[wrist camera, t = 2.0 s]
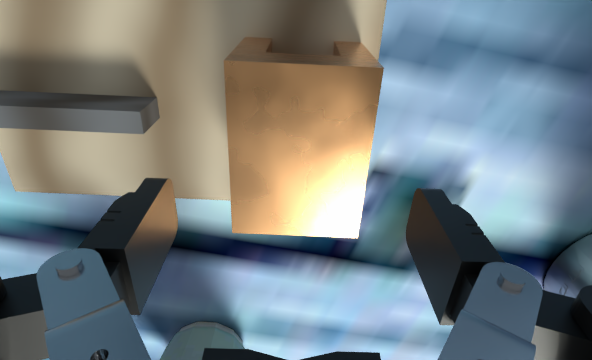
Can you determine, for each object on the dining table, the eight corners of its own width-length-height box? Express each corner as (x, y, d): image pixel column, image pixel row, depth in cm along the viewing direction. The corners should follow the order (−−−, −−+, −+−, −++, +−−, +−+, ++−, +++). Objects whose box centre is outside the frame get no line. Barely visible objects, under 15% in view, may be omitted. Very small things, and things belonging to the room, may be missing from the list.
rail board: (380, -2, 20) (398, 3, 16) (354, 193, 25) (362, 228, 22) (-41, -22, 19) (-116, -21, 16) (30, 180, 25) (-14, 213, 22)
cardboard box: (245, 36, 19) (223, 60, 14) (361, 42, 19) (383, 67, 14) (248, 173, 23) (232, 232, 18) (344, 177, 23) (357, 237, 18)
